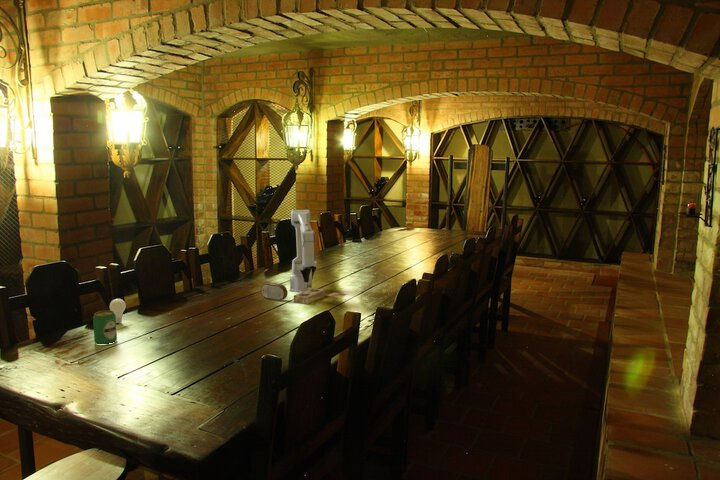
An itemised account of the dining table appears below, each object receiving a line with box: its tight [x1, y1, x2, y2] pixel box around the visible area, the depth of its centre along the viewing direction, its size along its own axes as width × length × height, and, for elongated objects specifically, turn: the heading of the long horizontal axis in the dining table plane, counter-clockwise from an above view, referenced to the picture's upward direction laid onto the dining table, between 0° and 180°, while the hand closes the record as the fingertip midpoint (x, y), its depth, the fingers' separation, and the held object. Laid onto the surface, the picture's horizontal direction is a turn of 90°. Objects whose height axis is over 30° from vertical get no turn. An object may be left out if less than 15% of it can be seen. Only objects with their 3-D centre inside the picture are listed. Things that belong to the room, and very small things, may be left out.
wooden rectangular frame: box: [293, 287, 326, 305], centre depth 281 cm, size 8×18×4 cm, turn 154°
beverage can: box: [92, 309, 118, 344], centre depth 214 cm, size 8×8×12 cm
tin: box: [260, 281, 288, 301], centre depth 280 cm, size 15×3×8 cm, turn 65°
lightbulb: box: [109, 298, 127, 324], centre depth 237 cm, size 6×6×11 cm
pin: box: [306, 268, 313, 289], centre depth 276 cm, size 3×3×10 cm
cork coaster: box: [326, 292, 348, 299], centre depth 289 cm, size 8×8×1 cm
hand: (308, 281), depth 277 cm, fingers closed on pin, 3 cm apart
